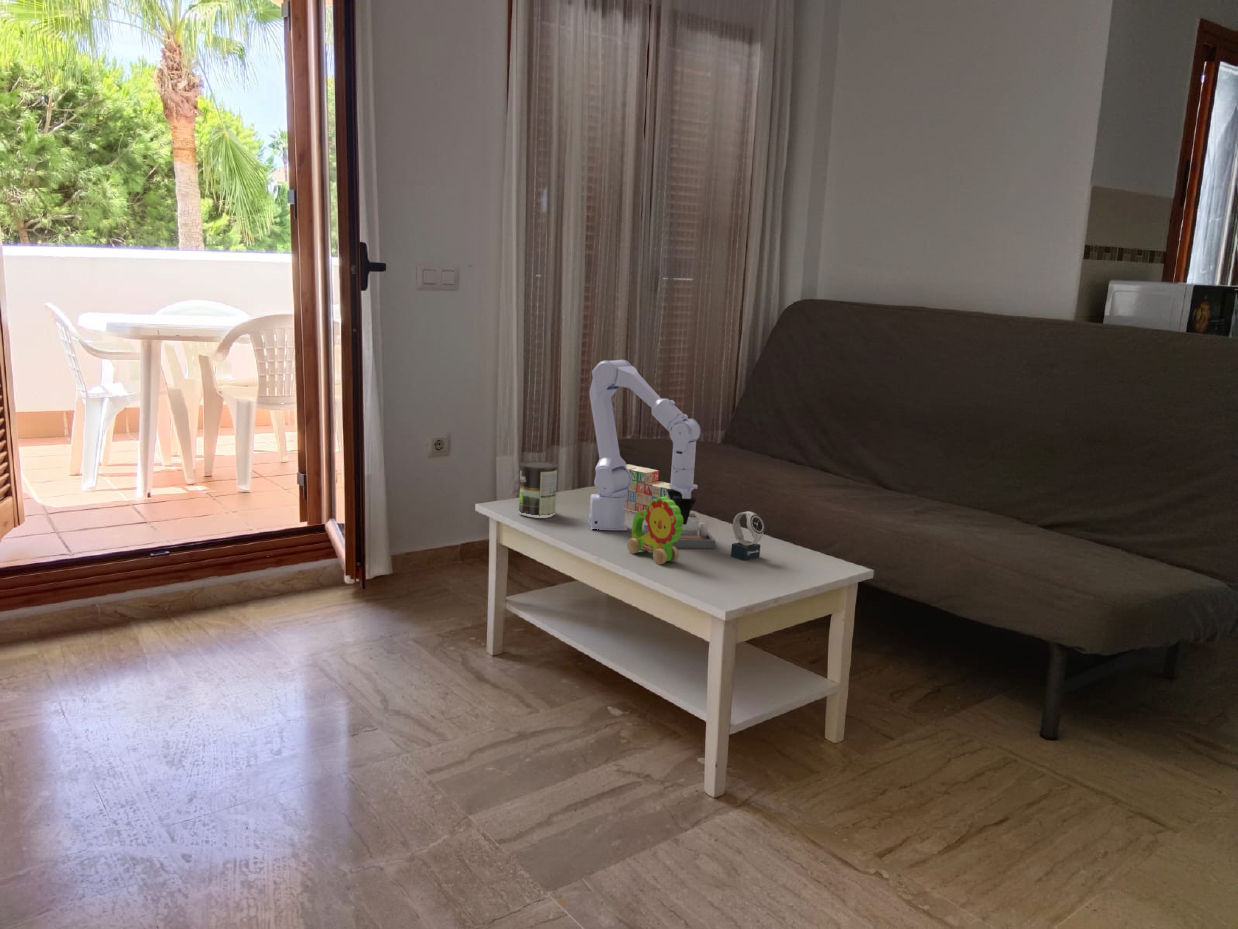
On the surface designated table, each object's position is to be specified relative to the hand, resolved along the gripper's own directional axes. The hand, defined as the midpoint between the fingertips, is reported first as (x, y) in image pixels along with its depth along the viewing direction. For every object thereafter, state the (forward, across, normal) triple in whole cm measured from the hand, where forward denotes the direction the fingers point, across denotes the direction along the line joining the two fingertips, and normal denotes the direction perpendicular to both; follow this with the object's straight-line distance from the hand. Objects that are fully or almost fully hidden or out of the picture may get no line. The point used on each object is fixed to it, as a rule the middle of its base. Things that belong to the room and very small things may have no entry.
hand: (679, 520), depth 232 cm
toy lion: (+6, -17, +9) cm, 20 cm away
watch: (+5, -14, -14) cm, 21 cm away
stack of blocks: (+6, +30, +4) cm, 31 cm away
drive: (+4, 0, 0) cm, 4 cm away
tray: (+5, 0, 0) cm, 5 cm away
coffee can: (+6, +25, +35) cm, 43 cm away
